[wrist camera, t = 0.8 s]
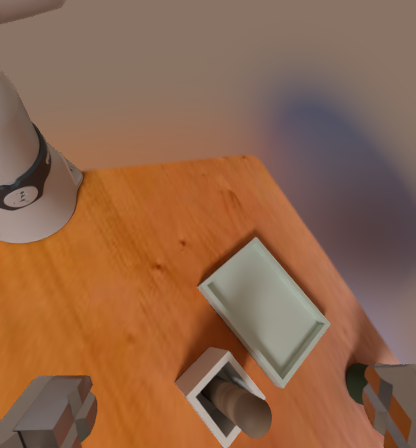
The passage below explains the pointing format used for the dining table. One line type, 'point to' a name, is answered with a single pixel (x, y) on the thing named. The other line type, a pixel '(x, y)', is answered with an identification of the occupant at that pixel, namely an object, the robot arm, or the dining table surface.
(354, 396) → the character mug
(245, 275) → the sage tray
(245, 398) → the walnut pin
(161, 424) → the dining table surface
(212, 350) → the white square sleeve
